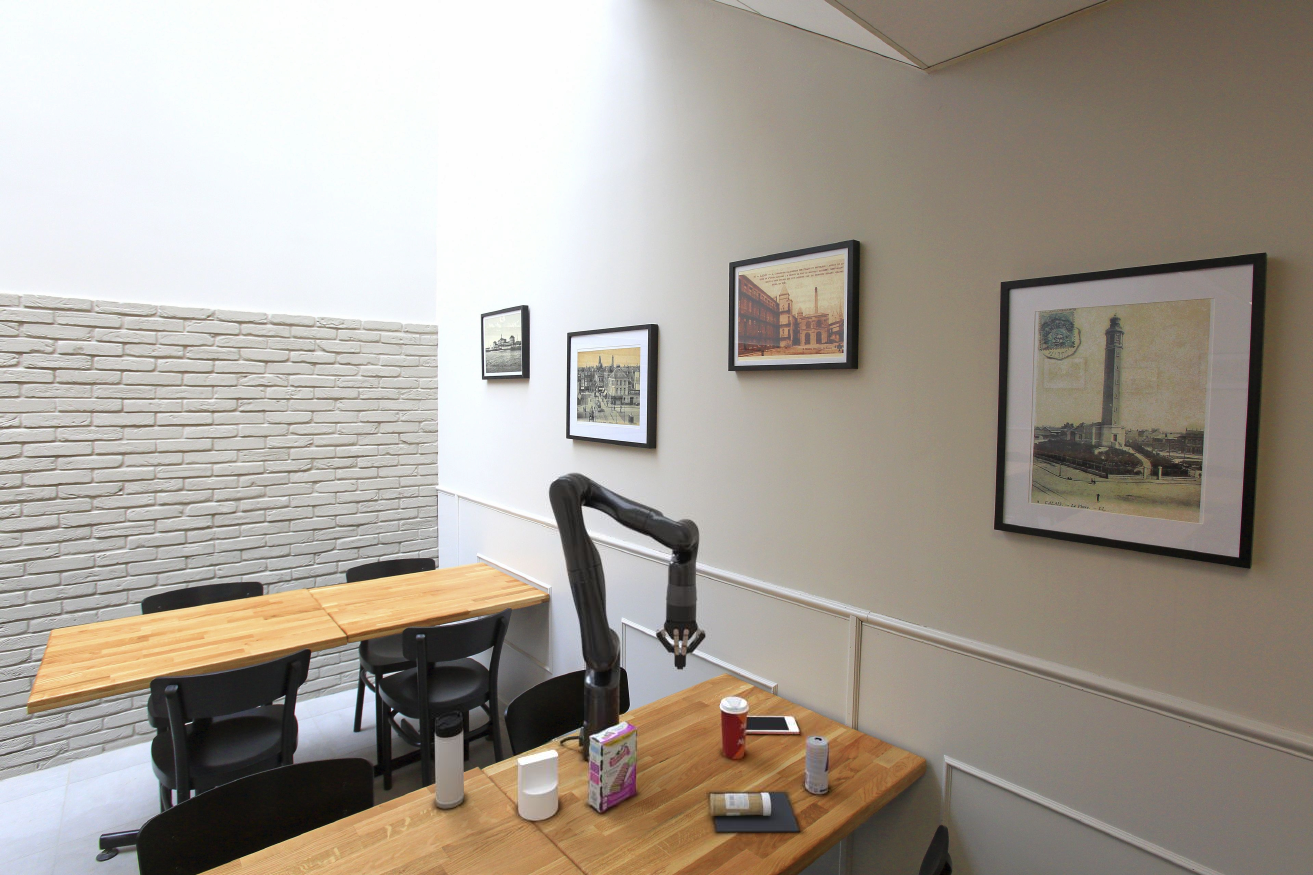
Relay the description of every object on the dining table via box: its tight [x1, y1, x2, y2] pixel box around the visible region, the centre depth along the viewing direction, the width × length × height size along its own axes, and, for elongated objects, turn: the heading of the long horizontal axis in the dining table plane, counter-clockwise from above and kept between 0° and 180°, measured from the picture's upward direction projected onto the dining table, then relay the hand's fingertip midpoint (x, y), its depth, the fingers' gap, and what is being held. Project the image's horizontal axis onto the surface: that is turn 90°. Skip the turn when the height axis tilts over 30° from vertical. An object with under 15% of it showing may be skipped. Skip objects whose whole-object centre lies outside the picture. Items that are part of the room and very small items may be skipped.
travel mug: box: [434, 710, 465, 810], centre depth 152 cm, size 6×7×20 cm
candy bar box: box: [587, 720, 638, 814], centre depth 152 cm, size 11×5×16 cm, turn 134°
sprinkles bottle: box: [709, 793, 771, 817], centre depth 147 cm, size 5×5×14 cm
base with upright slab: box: [517, 749, 559, 822], centre depth 149 cm, size 9×9×12 cm
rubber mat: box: [709, 791, 800, 834], centre depth 148 cm, size 18×14×1 cm
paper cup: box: [719, 696, 750, 760], centre depth 173 cm, size 8×8×14 cm
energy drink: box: [804, 734, 830, 795], centre depth 157 cm, size 5×5×12 cm
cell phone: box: [746, 715, 800, 735], centre depth 187 cm, size 9×18×1 cm, turn 89°
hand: (679, 668), depth 163 cm, fingers closed
